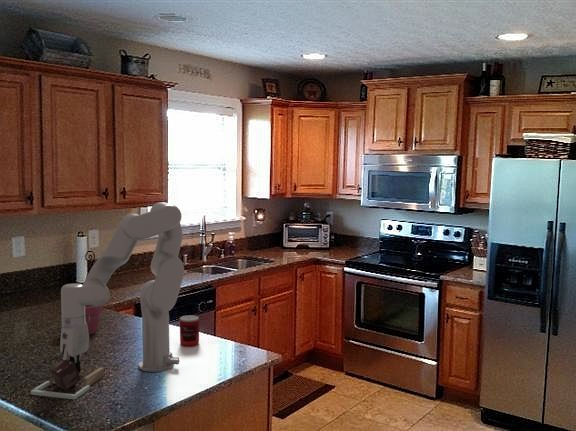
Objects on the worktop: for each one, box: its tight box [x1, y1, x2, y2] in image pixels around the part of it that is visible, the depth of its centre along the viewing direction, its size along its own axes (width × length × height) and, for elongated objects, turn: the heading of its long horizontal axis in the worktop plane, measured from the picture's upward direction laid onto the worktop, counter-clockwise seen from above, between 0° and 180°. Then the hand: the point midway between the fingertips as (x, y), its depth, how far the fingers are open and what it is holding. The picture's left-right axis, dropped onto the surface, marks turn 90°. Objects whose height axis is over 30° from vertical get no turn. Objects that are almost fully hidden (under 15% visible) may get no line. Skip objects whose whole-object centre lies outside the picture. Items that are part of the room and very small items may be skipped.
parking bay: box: [30, 380, 91, 400], centre depth 185 cm, size 16×8×1 cm, turn 77°
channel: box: [52, 367, 105, 388], centre depth 195 cm, size 13×10×3 cm
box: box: [49, 359, 82, 391], centre depth 189 cm, size 6×6×7 cm
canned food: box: [179, 314, 200, 348], centre depth 233 cm, size 8×8×11 cm
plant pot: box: [85, 304, 104, 335], centre depth 248 cm, size 14×14×13 cm
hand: (75, 372), depth 194 cm, fingers closed
